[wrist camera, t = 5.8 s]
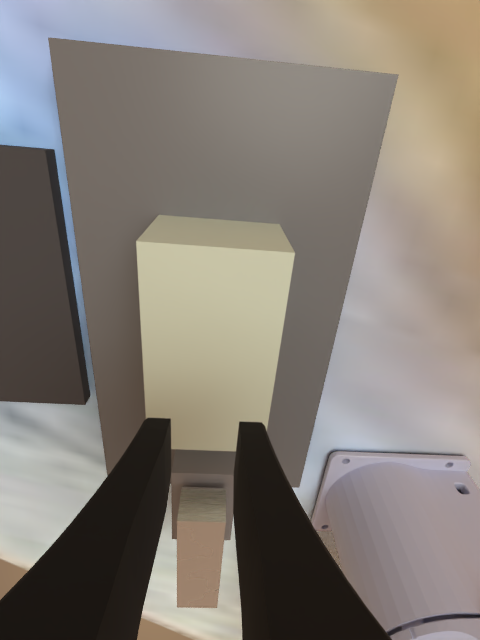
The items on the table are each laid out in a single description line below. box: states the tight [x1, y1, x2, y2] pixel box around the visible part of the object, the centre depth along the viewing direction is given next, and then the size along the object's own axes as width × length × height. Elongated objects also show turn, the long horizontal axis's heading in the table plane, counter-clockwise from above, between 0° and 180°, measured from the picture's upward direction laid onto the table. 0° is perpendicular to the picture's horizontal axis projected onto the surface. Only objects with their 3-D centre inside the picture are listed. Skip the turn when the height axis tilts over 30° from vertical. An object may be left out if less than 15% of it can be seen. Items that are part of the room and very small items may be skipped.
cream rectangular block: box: [136, 215, 295, 451], centre depth 15 cm, size 5×9×4 cm, turn 175°
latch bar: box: [177, 487, 226, 608], centre depth 17 cm, size 2×7×2 cm, turn 176°
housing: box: [48, 38, 398, 540], centre depth 16 cm, size 12×22×6 cm, turn 175°
